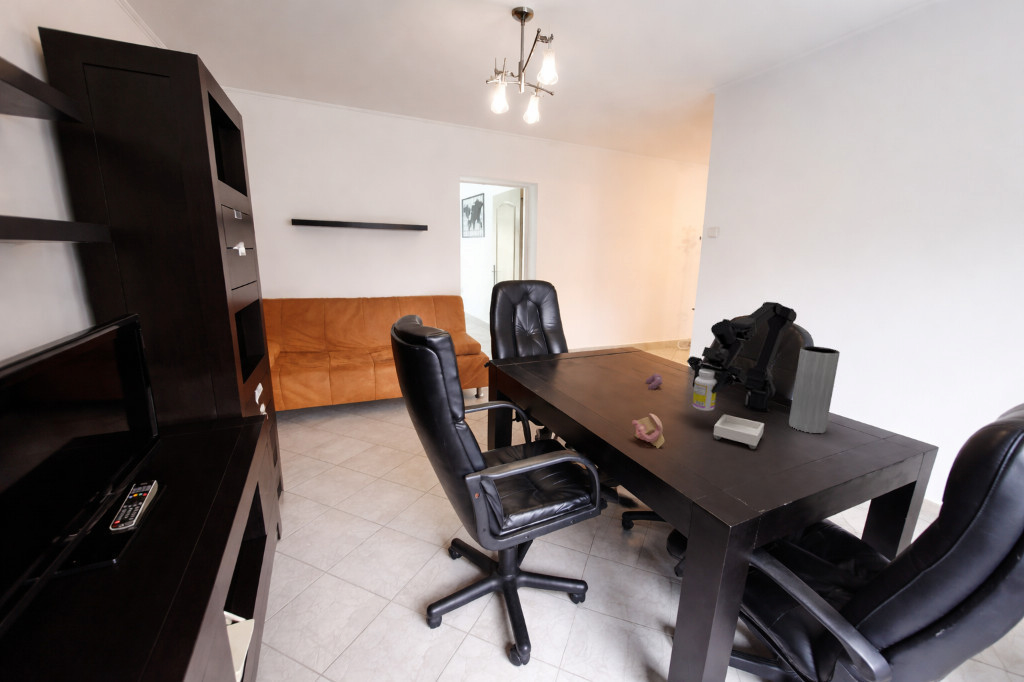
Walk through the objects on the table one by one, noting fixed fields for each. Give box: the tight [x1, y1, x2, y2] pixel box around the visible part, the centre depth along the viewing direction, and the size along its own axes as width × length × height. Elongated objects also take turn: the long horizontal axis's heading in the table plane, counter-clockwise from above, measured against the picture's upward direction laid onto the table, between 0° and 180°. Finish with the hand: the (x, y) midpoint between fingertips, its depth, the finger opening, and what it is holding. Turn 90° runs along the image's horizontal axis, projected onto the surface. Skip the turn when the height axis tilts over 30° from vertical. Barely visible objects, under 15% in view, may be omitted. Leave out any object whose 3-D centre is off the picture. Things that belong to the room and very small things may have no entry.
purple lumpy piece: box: [645, 372, 663, 390], centre depth 174 cm, size 10×5×7 cm, turn 169°
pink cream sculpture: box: [631, 413, 666, 449], centre depth 122 cm, size 9×10×10 cm
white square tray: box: [713, 413, 765, 450], centre depth 124 cm, size 12×12×5 cm
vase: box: [788, 345, 841, 434], centre depth 130 cm, size 10×10×27 cm
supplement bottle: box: [692, 369, 718, 412], centre depth 131 cm, size 7×7×13 cm
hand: (702, 389), depth 130 cm, fingers closed on supplement bottle, 7 cm apart
